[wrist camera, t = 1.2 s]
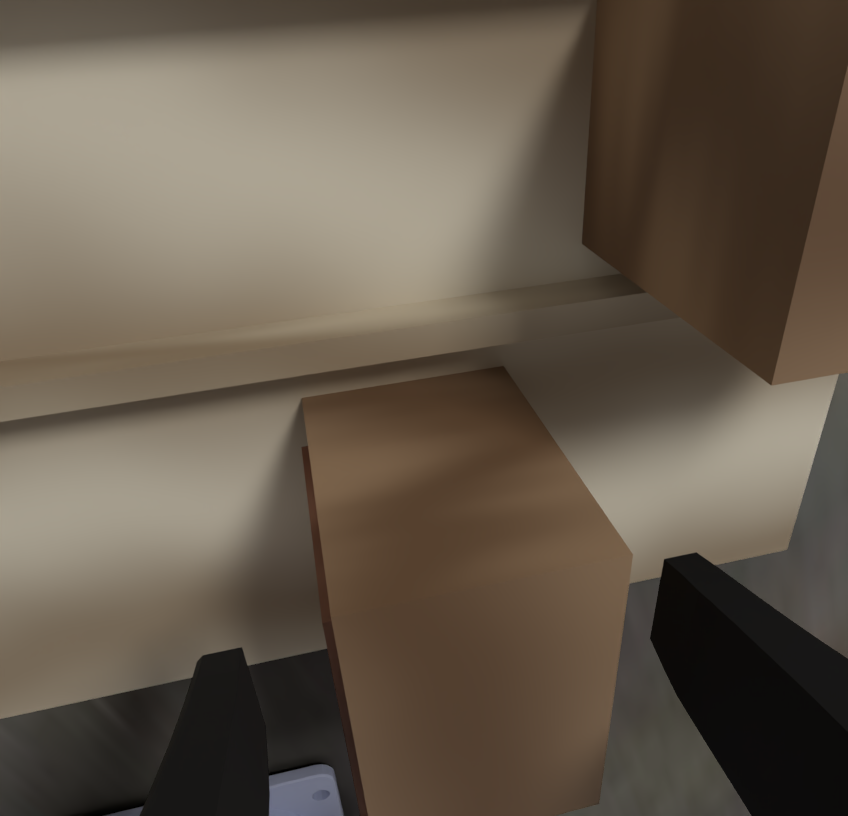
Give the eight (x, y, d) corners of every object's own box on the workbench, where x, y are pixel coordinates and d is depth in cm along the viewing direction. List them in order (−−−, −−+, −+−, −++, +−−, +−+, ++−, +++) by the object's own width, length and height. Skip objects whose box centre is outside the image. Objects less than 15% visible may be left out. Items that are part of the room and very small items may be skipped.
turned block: (503, 365, 14) (633, 555, 9) (502, 582, 17) (599, 803, 12) (294, 399, 13) (319, 620, 8) (334, 617, 16) (368, 864, 12)
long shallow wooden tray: (759, 521, 20) (817, 581, 18) (-376, 755, 15) (-470, 870, 13) (937, -168, 12) (1082, -201, 10) (-1329, -79, 7) (-1923, -106, 5)
